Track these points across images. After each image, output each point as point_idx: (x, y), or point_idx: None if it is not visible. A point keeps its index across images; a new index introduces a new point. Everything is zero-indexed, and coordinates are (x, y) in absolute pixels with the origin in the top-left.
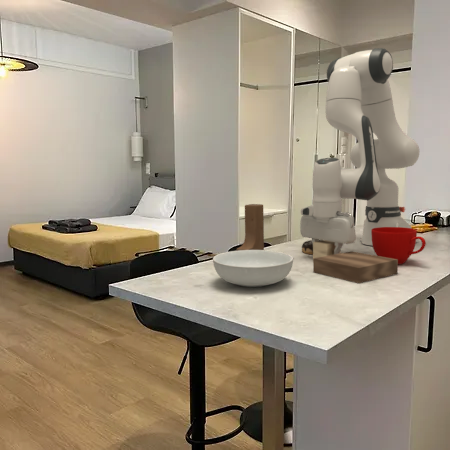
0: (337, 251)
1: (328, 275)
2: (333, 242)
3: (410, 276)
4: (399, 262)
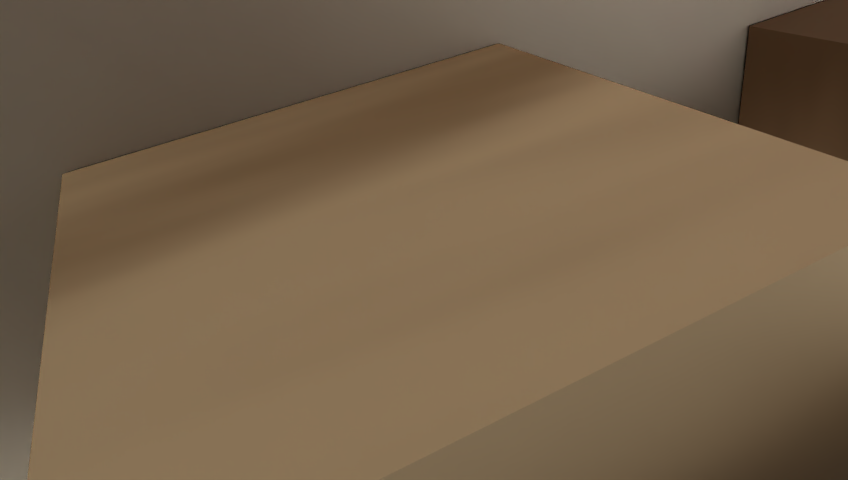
0: None
1: None
2: (767, 452)
3: None
4: None
